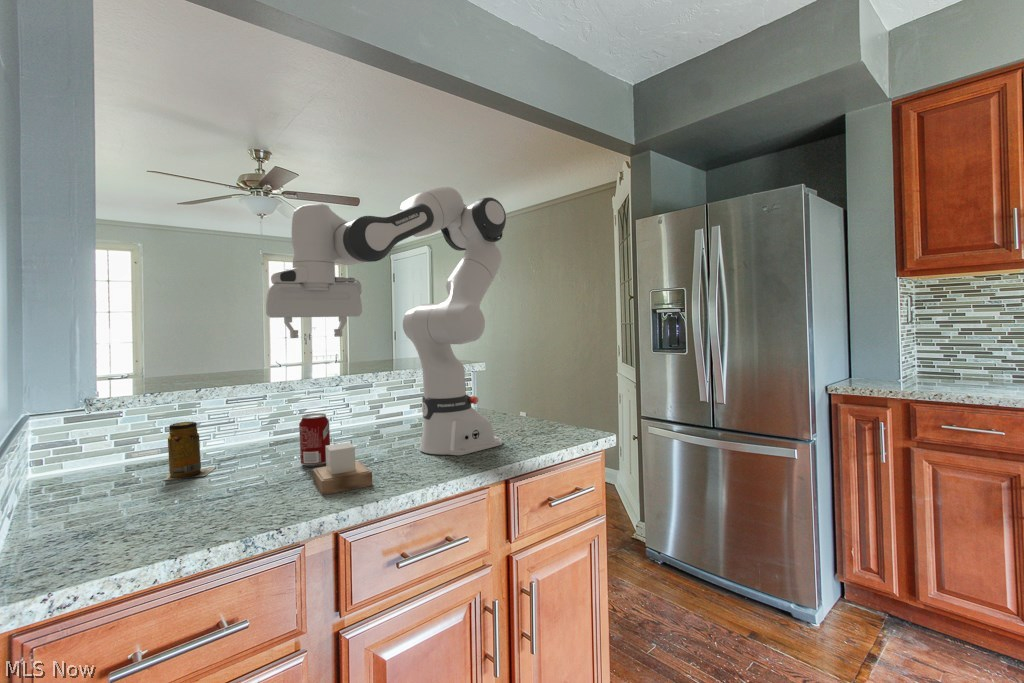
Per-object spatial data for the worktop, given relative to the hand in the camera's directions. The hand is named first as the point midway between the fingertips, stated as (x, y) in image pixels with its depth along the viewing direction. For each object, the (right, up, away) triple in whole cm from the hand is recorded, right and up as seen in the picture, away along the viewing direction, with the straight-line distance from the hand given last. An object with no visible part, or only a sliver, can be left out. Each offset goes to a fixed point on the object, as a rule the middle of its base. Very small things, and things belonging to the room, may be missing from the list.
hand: (316, 337), depth 109 cm
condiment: (-30, -32, +2) cm, 44 cm away
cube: (+8, -28, -7) cm, 30 cm away
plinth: (+8, -31, -7) cm, 33 cm away
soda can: (-4, -31, +8) cm, 32 cm away
